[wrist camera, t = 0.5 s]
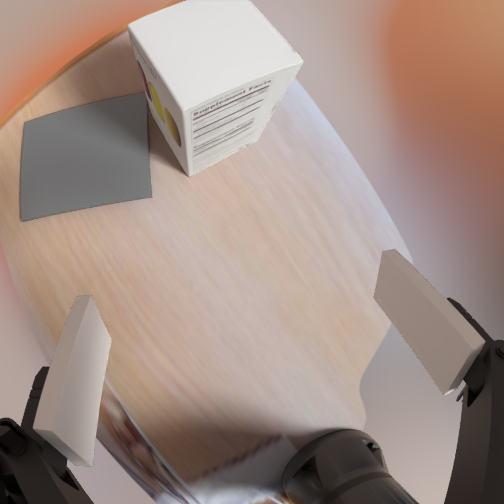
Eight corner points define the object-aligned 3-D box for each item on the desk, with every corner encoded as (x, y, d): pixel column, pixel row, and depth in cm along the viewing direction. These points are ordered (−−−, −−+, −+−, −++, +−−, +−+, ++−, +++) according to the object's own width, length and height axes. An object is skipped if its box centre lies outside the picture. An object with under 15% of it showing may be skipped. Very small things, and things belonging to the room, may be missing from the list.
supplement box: (150, 115, 32) (121, 21, 15) (218, 81, 33) (235, -19, 16) (189, 181, 32) (181, 114, 16) (260, 142, 34) (308, 60, 17)
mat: (152, 197, 32) (151, 196, 31) (23, 221, 29) (20, 221, 28) (147, 94, 31) (146, 91, 31) (26, 124, 29) (24, 122, 28)
